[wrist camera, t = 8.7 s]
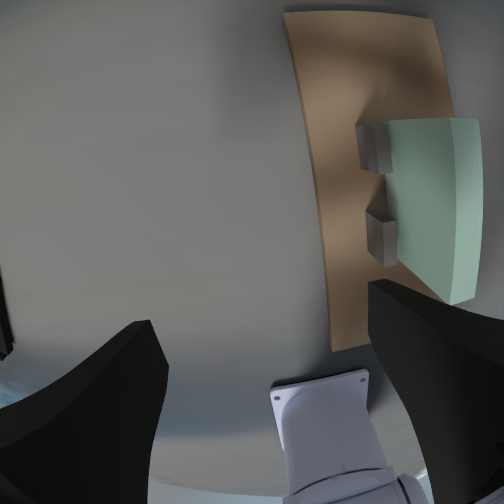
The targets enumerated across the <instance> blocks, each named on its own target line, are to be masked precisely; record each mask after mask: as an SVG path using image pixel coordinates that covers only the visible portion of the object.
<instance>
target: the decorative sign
mask: <svg viewBox="0 0 504 504" xmlns="http://www.w3.org/2000/svg"><path fill="white" fill-rule="evenodd" d="M13 350H14V349H13V345H12V341H11V337H10V332H9V327H8V322H7V317H6V311H5V306H4V299H3V293H2V285H1V277H0V361H3V360H4V359H5V358H6V356H7V355H9V354H10V353H11V352H12V351H13Z"/></svg>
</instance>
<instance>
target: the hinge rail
mask: <svg viewBox="0 0 504 504" xmlns="http://www.w3.org/2000/svg"><path fill="white" fill-rule="evenodd" d="M282 20H283V24H284V28H285V32H286V37H287V41H288V45H289V50H290V54H291V58H292V63H293V68H294V72H295V77H296V82H297V87H298V92H299V97H300V102H301V107H302V113H303V118H304V124H305V129H306V135H307V141H308V147H309V153H310V160H311V166H312V173H313V179H314V186H315V194H316V201H317V209H318V216H319V225H320V233H321V242H322V251H323V261H324V271H325V282H326V293H327V306H328V320H329V335H330V347H331V349H332V352H336V351H340V350H345V349H349V348H353V347H357V346H361V345H365V344H369V343H371V340H370V338H369V335H368V282H371V281H375V280H380V279H384V278H385V279H388V280H391V281H394V282H396V283H399V284H401V285H404V286H406V287H408V288H410V289H413V290H415V291H417V292H420V293H422V294H424V295H426V296H429V297H431V298H434V299H436V300H438V301H441V302H443V303H445V302H444V301H443V300H442V299H441V298H440V297H439V296H438V295H437V294H436V293H435V292H434V291H433V290H432V289H430V288H429V287H428V286H427V285H426V284H425V283H424V282H423V281H422V280H421V279H420V278H418V277H417V276H416V275H415V274H414V273H413V272H412V271H411V270H410V269H408V268H407V267H406V266H405V265H404V264H403V263H402V262H401V261H399V260H398V259H397V226H396V220H394V219H393V218H391V217H389V216H388V204H387V190H386V179H385V174H387V173H393V166H392V157H391V148H390V140H389V132H388V125H387V123H383V124H379V122H380V121H392V120H405V119H422V118H454V116H453V109H452V103H451V97H450V91H449V86H448V80H447V75H446V71H445V66H444V62H443V57H442V53H441V49H440V45H439V42H438V38H437V34H436V31H435V28H434V24H433V21H432V19H427V18H421V17H415V16H408V15H400V14H391V13H380V12H365V11H301V12H286V13H283V16H282Z"/></svg>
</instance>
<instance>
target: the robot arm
mask: <svg viewBox="0 0 504 504" xmlns="http://www.w3.org/2000/svg"><path fill="white" fill-rule="evenodd" d="M368 335H369V338H370V340H371V343H372V346H373V348H374V351H375V353H376V355H377V358H378V359H379V361H380V363H381V365H382V367H383V368H384V370H385V372H386V374H387V375H388V377H389V379H390V381H391V382H392V384H393V386H394V388H395V390H396V391H397V393H398V395H399V397H400V399H401V400H402V402H403V404H404V406H405V408H406V410H407V412H408V414H409V417H410V420H411V422H412V425H413V428H414V430H415V433H416V436H417V438H418V442H419V445H420V448H421V451H422V454H423V457H424V460H425V464H426V468H427V472H428V476H429V480H430V484H431V488H432V493H433V498H434V504H504V320H500V319H496V318H491V317H487V316H483V315H480V314H476V313H472V312H469V311H466V310H463V309H460V308H457V307H454V306H452V305H449V304H446V303H443V302H441V301H438V300H436V299H434V298H431V297H429V296H426V295H424V294H422V293H420V292H417V291H415V290H413V289H410V288H408V287H406V286H404V285H401V284H399V283H396V282H394V281H391V280H388V279H385V278H384V279H380V280H375V281H371V282H368ZM168 371H169V365H168V363H167V360H166V358H165V356H164V353H163V351H162V348H161V346H160V344H159V341H158V339H157V336H156V334H155V331H154V329H153V326H152V324H151V321H150V320H143V321H134V322H133V323H131V324H129V325H128V326H126V327H125V328H124V329H122V330H121V331H120V332H119V333H117V334H116V335H115V336H114V337H113V338H111V339H110V340H109V341H108V342H106V343H105V344H104V345H103V346H102V347H100V348H99V349H98V350H97V351H96V352H94V353H93V354H92V355H91V356H89V357H88V358H87V359H85V360H84V361H83V362H82V363H80V364H79V365H78V366H76V367H75V368H74V369H72V370H71V371H70V372H68V373H67V374H65V375H64V376H63V377H61V378H60V379H58V380H56V381H55V382H53V383H52V384H50V385H49V386H47V387H45V388H43V389H42V390H40V391H38V392H36V393H34V394H32V395H30V396H28V397H26V398H24V399H22V400H20V401H18V402H16V403H13V404H11V405H9V406H6V407H3V408H1V409H0V504H147V496H148V493H147V492H148V476H149V466H150V457H151V450H152V445H153V440H154V437H155V433H156V429H157V425H158V421H159V417H160V413H161V410H162V406H163V402H164V398H165V394H166V389H167V381H168ZM362 378H363V379H362ZM368 380H369V372H368V370H367V369H360V370H356V371H352V372H348V373H344V374H340V375H335V376H331V377H326V378H322V379H317V380H312V381H307V382H302V383H296V384H291V385H285V386H279V387H274V388H272V389H271V390H270V397H271V401H272V405H273V410H274V414H275V419H276V423H277V427H278V432H279V436H280V440H281V444H282V449H283V450H284V453H285V462H286V470H287V479H288V488H289V497H285V498H283V504H429V503H428V501H427V498H426V495H425V493H424V491H423V489H422V487H421V485H420V483H419V482H418V480H417V479H416V478H414V477H412V476H409V475H407V474H402V475H399V476H397V477H396V474H395V472H394V469H393V466H389V467H388V464H387V462H386V459H385V456H384V454H383V451H382V448H381V445H380V443H379V440H378V438H377V435H376V432H375V430H374V427H373V424H372V422H371V419H370V417H369V414H368V412H367V409H366V403H367V392H368ZM276 396H279V397H276Z"/></svg>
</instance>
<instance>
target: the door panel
mask: <svg viewBox="0 0 504 504" xmlns="http://www.w3.org/2000/svg"><path fill="white" fill-rule="evenodd" d="M383 123H387V125H388V132H389V140H390V148H391V157H392V166H393V173H387V174H385V179H386V190H387V204H388V216H389V217H391V218H393V219H394V220H396V226H397V259H398V260H399V261H401V262H402V263H403V264H404V265H405V266H406V267H407V268H408V269H410V270H411V271H412V272H413V273H414V274H415V275H416V276H417V277H418V278H420V279H421V280H422V281H423V282H424V283H425V284H426V285H427V286H428V287H429V288H430V289H432V290H433V291H434V292H435V293H436V294H437V295H438V296H439V297H440V298H441V299H442V300H443V301H444V302H445V303H446V304H449V305H454V304H457V303H460V302H463V301H466V300H469V299H472V298H474V296H475V290H476V283H477V276H478V268H479V259H480V249H481V237H482V219H483V168H482V150H481V138H480V128H479V119H478V118H422V119H405V120H392V121H380V122H379V124H383Z"/></svg>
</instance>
